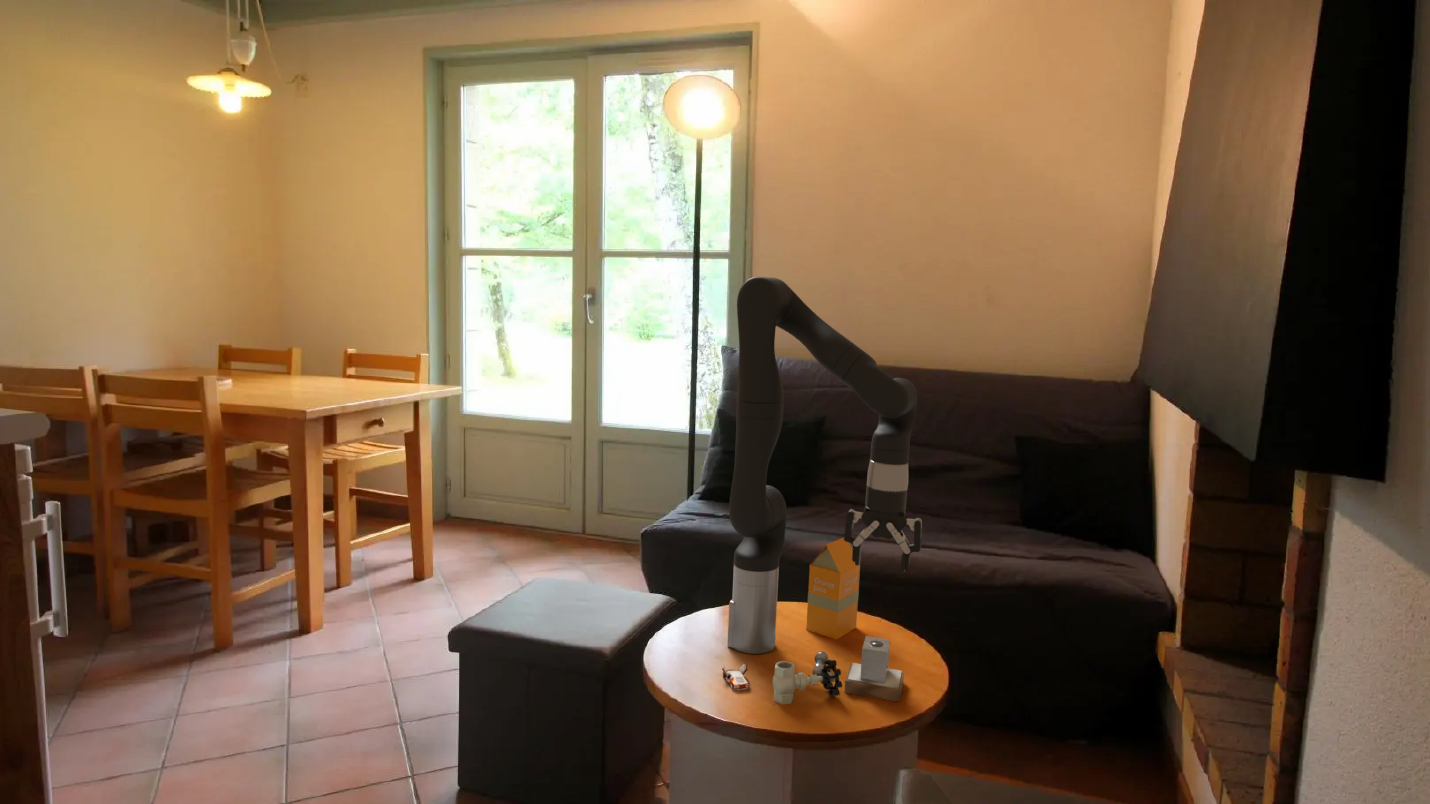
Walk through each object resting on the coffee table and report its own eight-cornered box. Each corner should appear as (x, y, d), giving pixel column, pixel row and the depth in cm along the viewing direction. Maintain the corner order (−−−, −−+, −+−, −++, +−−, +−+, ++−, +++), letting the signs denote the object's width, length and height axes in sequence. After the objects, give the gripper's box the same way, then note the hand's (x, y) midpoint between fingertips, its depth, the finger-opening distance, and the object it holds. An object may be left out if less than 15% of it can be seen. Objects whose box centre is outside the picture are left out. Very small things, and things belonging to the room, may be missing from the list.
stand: (844, 692, 156) (845, 679, 156) (850, 673, 164) (851, 661, 163) (899, 701, 153) (900, 688, 153) (903, 682, 161) (904, 670, 160)
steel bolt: (823, 677, 162) (823, 664, 161) (809, 675, 162) (810, 662, 162) (828, 664, 167) (828, 652, 167) (815, 662, 168) (815, 650, 168)
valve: (778, 710, 149) (841, 702, 152) (780, 674, 148) (843, 668, 151) (765, 692, 155) (826, 686, 158) (767, 658, 154) (828, 652, 158)
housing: (860, 679, 156) (862, 647, 155) (863, 665, 162) (865, 635, 161) (885, 683, 155) (887, 651, 154) (887, 669, 160) (890, 638, 160)
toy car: (741, 672, 163) (742, 656, 163) (755, 691, 156) (756, 675, 155) (715, 674, 162) (716, 658, 161) (728, 694, 154) (729, 677, 154)
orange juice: (856, 627, 187) (862, 539, 184) (836, 639, 180) (842, 548, 177) (826, 618, 191) (831, 532, 189) (805, 629, 184) (810, 540, 182)
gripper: (846, 484, 157) (839, 568, 160) (924, 493, 153) (916, 579, 155) (852, 476, 164) (846, 556, 167) (927, 485, 160) (919, 567, 162)
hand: (880, 567), depth 161 cm, fingers open, 8 cm apart
